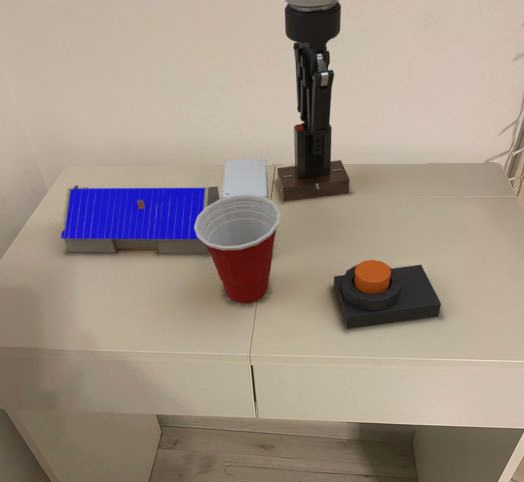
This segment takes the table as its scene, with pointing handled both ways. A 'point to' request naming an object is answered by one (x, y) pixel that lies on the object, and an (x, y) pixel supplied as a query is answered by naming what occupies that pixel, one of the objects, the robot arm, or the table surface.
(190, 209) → the roof
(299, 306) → the table surface
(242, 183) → the cosmetics box
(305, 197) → the dial panel
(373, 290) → the switch button
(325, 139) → the dark grey block
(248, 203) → the plastic cup
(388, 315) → the switch button base
